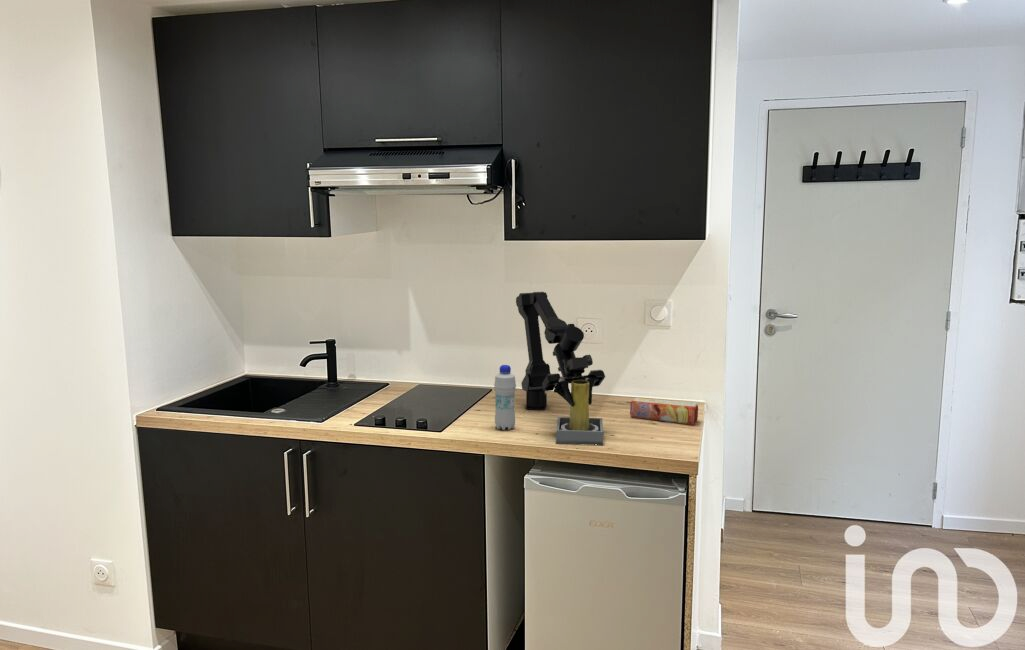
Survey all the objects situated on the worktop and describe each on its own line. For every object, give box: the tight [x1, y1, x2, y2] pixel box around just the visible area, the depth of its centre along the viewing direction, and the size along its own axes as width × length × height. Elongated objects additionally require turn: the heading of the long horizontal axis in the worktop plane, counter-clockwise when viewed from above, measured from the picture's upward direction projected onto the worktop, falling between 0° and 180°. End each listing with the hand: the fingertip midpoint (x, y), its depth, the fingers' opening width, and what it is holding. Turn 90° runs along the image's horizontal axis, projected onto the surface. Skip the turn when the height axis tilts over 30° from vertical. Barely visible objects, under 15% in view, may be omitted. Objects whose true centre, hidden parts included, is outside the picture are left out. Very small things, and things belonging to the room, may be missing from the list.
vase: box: [569, 380, 590, 431], centre depth 223 cm, size 6×6×14 cm
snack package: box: [629, 397, 699, 426], centre depth 242 cm, size 21×7×7 cm, turn 65°
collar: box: [561, 423, 598, 431], centre depth 224 cm, size 11×11×2 cm
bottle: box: [493, 364, 517, 431], centre depth 231 cm, size 7×7×20 cm
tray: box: [555, 416, 604, 446], centre depth 224 cm, size 14×14×4 cm
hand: (581, 404), depth 222 cm, fingers closed on vase, 5 cm apart
